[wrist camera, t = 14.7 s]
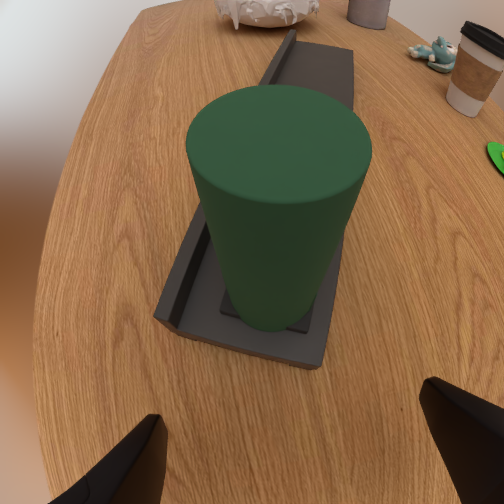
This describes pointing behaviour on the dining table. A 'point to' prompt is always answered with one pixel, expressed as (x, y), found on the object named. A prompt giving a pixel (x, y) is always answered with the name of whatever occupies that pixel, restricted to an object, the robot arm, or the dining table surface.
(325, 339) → the shoe shelf
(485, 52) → the coffee cup
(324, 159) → the green cylinder on block
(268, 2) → the bowl
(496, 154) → the green flat round tray
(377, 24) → the pillar candle
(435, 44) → the stuffed animal
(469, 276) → the dining table surface
